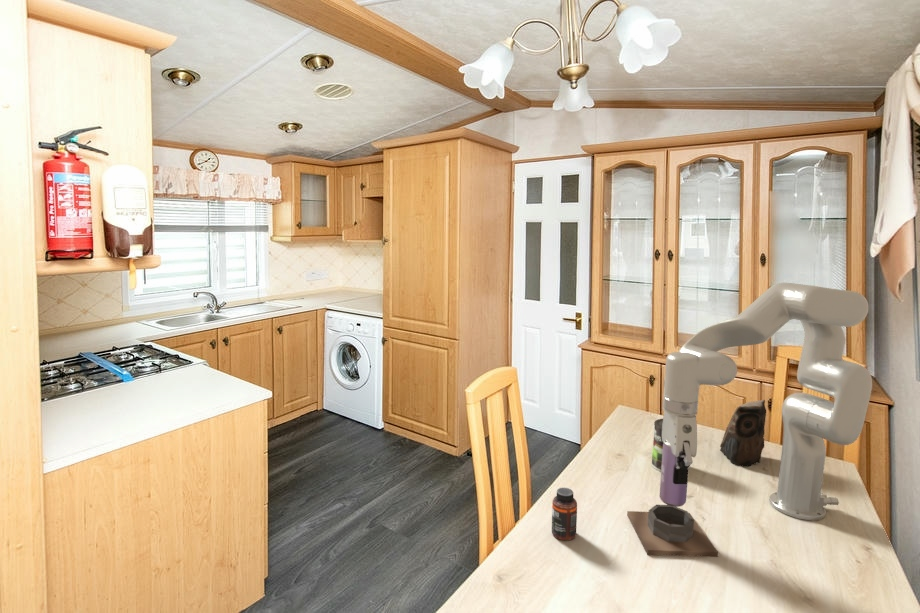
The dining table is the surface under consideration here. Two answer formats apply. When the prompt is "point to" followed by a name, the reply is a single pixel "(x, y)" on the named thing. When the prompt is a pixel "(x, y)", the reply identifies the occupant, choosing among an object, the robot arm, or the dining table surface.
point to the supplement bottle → (564, 514)
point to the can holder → (670, 532)
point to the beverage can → (671, 480)
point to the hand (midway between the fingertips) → (674, 475)
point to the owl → (745, 434)
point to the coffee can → (657, 445)
